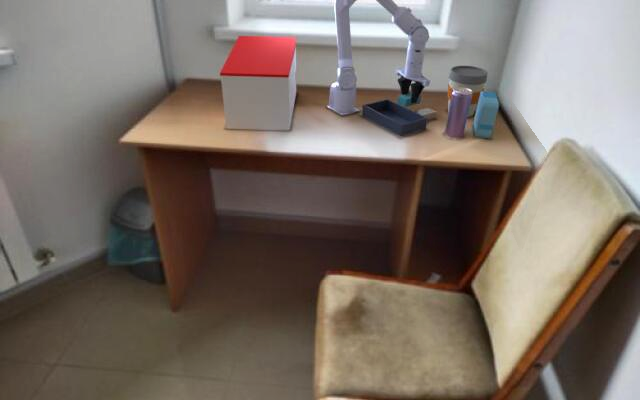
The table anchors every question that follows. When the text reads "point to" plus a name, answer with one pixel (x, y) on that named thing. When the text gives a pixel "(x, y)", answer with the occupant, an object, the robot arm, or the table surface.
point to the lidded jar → (467, 83)
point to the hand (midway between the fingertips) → (409, 100)
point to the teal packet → (407, 100)
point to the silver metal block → (427, 113)
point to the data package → (486, 114)
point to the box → (394, 117)
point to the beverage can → (458, 112)
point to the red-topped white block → (260, 83)
